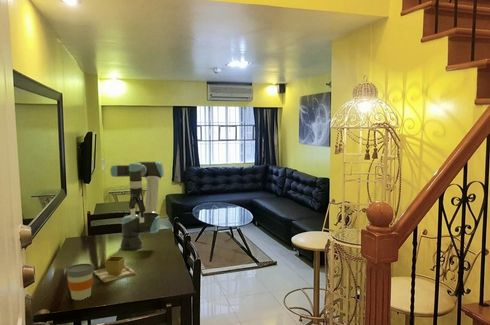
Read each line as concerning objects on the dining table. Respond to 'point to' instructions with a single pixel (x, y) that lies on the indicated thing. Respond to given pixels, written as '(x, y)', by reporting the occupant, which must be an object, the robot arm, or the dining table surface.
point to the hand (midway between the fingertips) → (137, 220)
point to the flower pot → (114, 265)
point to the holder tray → (106, 277)
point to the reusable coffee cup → (80, 280)
